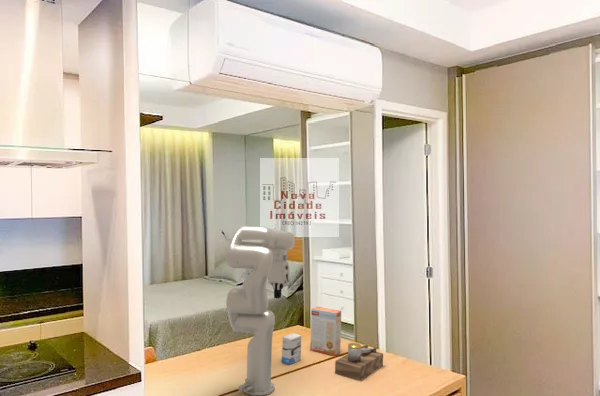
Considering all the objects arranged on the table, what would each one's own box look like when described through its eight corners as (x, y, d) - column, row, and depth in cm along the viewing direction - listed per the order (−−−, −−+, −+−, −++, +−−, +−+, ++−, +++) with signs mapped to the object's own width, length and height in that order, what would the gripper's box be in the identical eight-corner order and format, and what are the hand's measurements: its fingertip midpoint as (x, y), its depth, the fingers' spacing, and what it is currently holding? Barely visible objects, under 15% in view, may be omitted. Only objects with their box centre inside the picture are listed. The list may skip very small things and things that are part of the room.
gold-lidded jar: (362, 371, 200) (363, 345, 200) (356, 375, 195) (357, 348, 195) (351, 368, 203) (352, 342, 203) (345, 371, 199) (345, 345, 198)
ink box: (289, 365, 206) (290, 339, 206) (281, 362, 209) (282, 336, 209) (301, 360, 213) (301, 334, 212) (292, 357, 216) (293, 332, 215)
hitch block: (359, 380, 191) (360, 363, 191) (335, 373, 198) (335, 356, 198) (382, 365, 209) (383, 349, 209) (359, 359, 216) (360, 343, 216)
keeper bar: (364, 353, 203) (364, 350, 203) (357, 351, 205) (358, 348, 205) (374, 351, 211) (374, 349, 211) (367, 350, 213) (367, 347, 213)
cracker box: (340, 352, 224) (342, 310, 223) (334, 356, 218) (336, 312, 218) (315, 347, 231) (317, 305, 231) (309, 350, 226) (311, 308, 226)
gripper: (296, 259, 209) (295, 299, 209) (271, 255, 218) (270, 293, 218) (286, 260, 203) (285, 301, 203) (261, 257, 212) (259, 296, 212)
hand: (277, 297), depth 210 cm, fingers closed
